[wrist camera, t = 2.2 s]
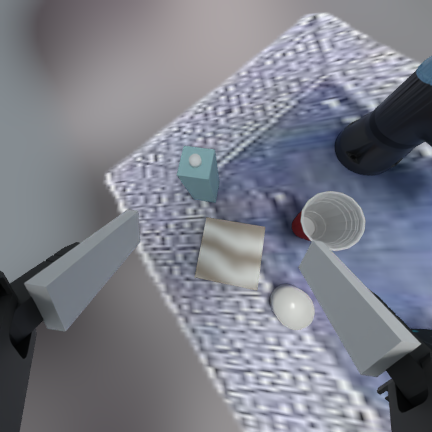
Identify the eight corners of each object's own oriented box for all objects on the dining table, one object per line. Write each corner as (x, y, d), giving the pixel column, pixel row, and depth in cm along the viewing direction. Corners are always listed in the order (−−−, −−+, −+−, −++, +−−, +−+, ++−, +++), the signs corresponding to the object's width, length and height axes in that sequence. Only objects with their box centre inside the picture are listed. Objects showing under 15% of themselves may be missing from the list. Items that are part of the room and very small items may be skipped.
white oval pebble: (272, 280, 38) (276, 284, 34) (306, 287, 37) (315, 292, 33) (268, 316, 37) (272, 324, 33) (303, 324, 36) (313, 334, 32)
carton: (198, 179, 45) (182, 142, 29) (219, 182, 44) (214, 146, 28) (194, 199, 44) (174, 172, 28) (215, 202, 43) (208, 177, 27)
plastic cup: (275, 240, 40) (294, 236, 28) (288, 201, 41) (311, 183, 30) (318, 256, 38) (359, 261, 26) (330, 216, 40) (373, 202, 28)
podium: (208, 220, 42) (206, 217, 38) (261, 228, 41) (265, 227, 37) (197, 274, 40) (194, 277, 36) (254, 286, 38) (257, 290, 34)
